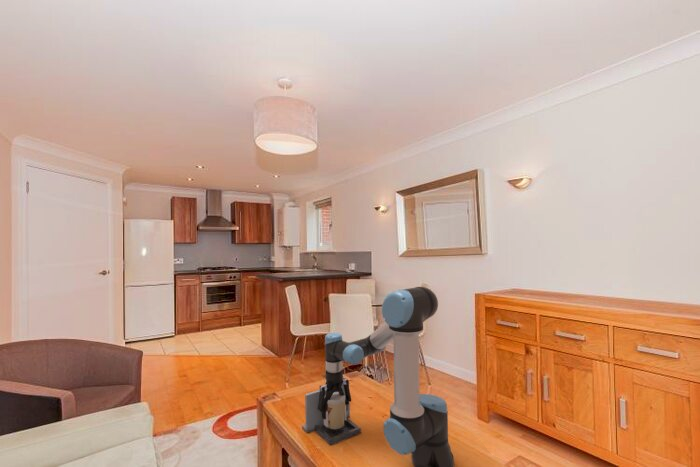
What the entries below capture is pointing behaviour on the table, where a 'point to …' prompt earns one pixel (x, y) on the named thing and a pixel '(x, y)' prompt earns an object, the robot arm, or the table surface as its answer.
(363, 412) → the table surface
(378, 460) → the table surface
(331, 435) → the plate
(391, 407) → the robot arm
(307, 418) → the wall board
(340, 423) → the coffee cup
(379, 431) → the table surface
